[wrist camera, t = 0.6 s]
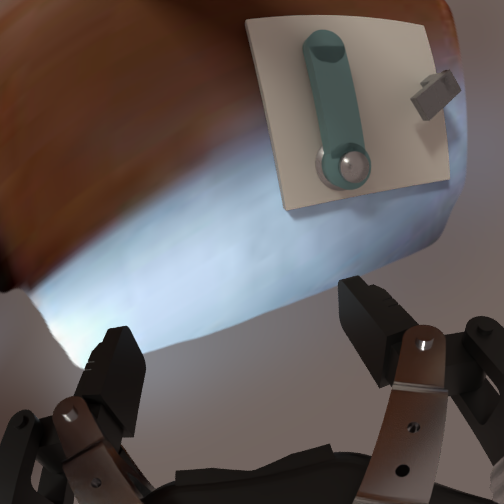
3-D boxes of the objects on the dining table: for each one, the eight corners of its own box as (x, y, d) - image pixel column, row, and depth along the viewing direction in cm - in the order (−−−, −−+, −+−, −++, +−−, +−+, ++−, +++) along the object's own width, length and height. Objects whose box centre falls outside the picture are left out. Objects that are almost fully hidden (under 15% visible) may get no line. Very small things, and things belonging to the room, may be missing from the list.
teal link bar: (365, 183, 31) (373, 185, 30) (325, 190, 31) (332, 193, 29) (336, 35, 25) (344, 29, 23) (294, 36, 25) (299, 29, 23)
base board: (244, 24, 26) (245, 19, 24) (417, 28, 27) (423, 25, 25) (283, 207, 34) (286, 210, 32) (443, 177, 35) (450, 179, 33)
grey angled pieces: (336, 201, 33) (352, 209, 29) (304, 160, 30) (317, 162, 26) (445, 101, 29) (466, 100, 25) (422, 63, 27) (443, 58, 23)
